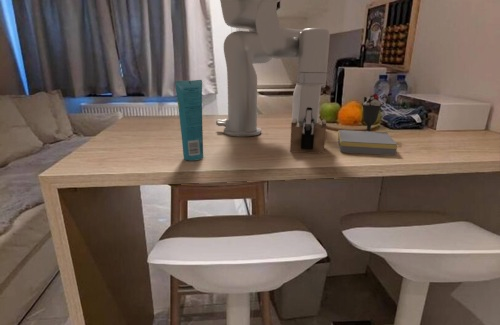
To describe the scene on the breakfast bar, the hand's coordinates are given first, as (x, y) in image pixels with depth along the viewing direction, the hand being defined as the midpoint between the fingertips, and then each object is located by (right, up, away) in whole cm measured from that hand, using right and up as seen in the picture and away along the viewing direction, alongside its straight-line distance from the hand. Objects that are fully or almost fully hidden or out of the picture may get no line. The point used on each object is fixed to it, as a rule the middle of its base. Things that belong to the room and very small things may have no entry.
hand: (307, 144), depth 90 cm
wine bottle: (+4, +8, +29) cm, 30 cm away
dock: (+17, 0, +3) cm, 17 cm away
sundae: (+23, +4, +16) cm, 28 cm away
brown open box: (0, -1, 0) cm, 1 cm away
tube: (-30, -4, -8) cm, 32 cm away
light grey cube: (0, +5, -2) cm, 6 cm away
